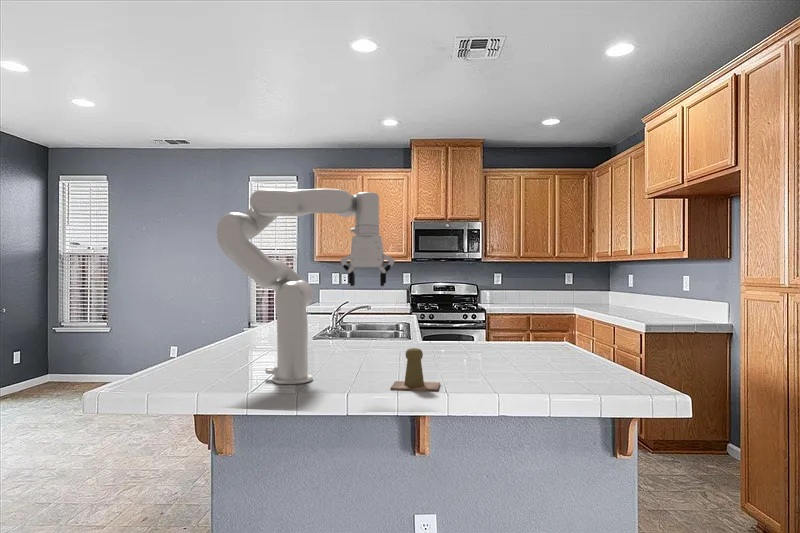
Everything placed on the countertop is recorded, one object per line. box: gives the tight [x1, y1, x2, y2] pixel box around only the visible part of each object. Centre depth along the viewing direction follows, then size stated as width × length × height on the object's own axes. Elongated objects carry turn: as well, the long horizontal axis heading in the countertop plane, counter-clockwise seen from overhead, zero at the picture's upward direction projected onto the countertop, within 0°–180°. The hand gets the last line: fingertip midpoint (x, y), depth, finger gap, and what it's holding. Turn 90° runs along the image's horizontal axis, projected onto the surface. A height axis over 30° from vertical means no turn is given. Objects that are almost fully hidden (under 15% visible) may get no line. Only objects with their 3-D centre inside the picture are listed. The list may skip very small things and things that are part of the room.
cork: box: [404, 347, 425, 387], centre depth 160 cm, size 6×6×11 cm
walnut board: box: [390, 380, 441, 392], centre depth 159 cm, size 14×9×1 cm, turn 82°
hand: (367, 285), depth 167 cm, fingers open, 9 cm apart
